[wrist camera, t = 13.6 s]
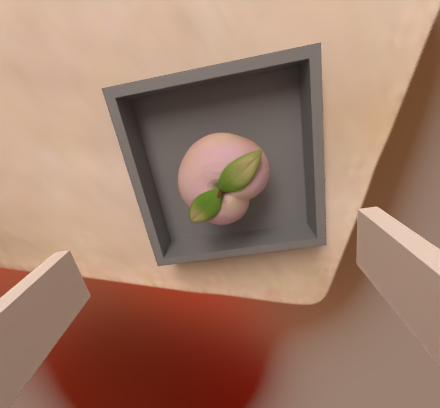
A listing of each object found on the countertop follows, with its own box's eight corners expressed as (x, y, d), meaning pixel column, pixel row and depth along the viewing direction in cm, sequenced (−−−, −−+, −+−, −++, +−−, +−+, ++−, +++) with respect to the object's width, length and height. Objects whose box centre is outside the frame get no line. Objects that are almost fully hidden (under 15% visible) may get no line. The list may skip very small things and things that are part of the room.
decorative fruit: (215, 109, 27) (201, 114, 18) (276, 151, 28) (292, 175, 19) (175, 178, 30) (146, 211, 21) (231, 213, 32) (225, 259, 22)
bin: (167, 244, 35) (157, 266, 30) (123, 91, 28) (101, 88, 23) (313, 225, 33) (326, 244, 28) (304, 54, 26) (320, 42, 21)
